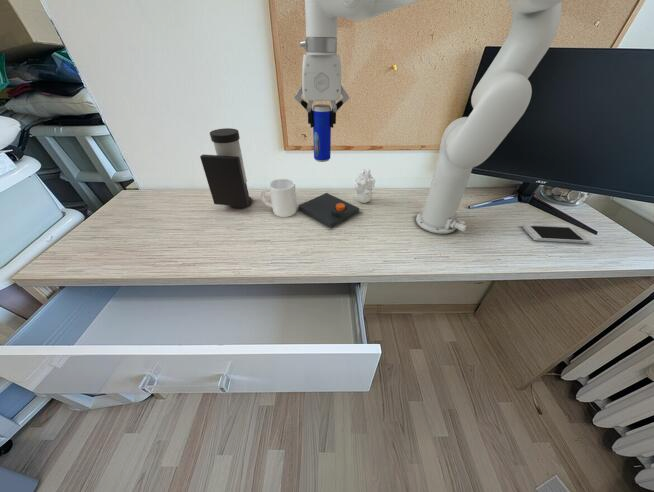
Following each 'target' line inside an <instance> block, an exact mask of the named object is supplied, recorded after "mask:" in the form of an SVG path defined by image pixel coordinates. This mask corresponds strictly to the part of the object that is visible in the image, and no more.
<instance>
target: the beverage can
mask: <svg viewBox="0 0 654 492" xmlns="http://www.w3.org/2000/svg"><path fill="white" fill-rule="evenodd" d="M312 111H313V127H312V131H313V132H312V133H313V134H312V135H313V139H312V141H313V159H314V160H315V161H316V162H318V163H325V162H329V161H330V159H331V149H332V148H331V147H332V146H331V143H332V142H331V141H332V139H331V137H332V127H331V111H332V106H331V104H330V105H329V104H323V103H321V104H319V103H318V104H314V105H313V106H312Z"/></svg>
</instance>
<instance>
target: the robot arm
mask: <svg viewBox="0 0 654 492" xmlns="http://www.w3.org/2000/svg"><path fill="white" fill-rule="evenodd" d="M420 1H421V0H304V13H305V14H304V15H305V16H304V17H305V19H304V20H305V39H304V40H302V41H301V40H300V44H299V45H300V49H303V50H305V52H306V54H303V56H302V69H301V71H302V72H301V81H302V83H301V84H302V85H301V86H300V88H299V89H298V91H297V92H296V94H295V95H294V100H295V101H296V102H297V103H298V104H300V105H301V106H302V107H303V108H304V109H305V111H306V112H307V124H309V126H310V129H311V128H312V129H313V103H314V102H330V106H331V129H334V125H336V124H337V112H338V110H340V108H341V107H342V106H343V105H344V104H346V102H348V100H350V96H349V94H348V93H347V91H346V90H345V89H344V87H343V86H342V64H341V55H340V54H338V53H337V52H338V20H339V19H338V18H343V19H348V20H351V21H352V22H364V21H367V20H369V19H372V18H376V17H379V16H380V15H384V14H386V13H387V14H388V13H389V12H392V11H394V10H397V9H400V8H402V7H405V6H409V5H412V4H415V3H418V2H420ZM563 2H564V0H508V4H509V7H510V11H511V16H512V17H511V26H510V29H509V32H508V35H507V36H506V38H505V41H504V42H503V44H502V46H501V48H500V49H499V51H498V53H497V54H496V55H495V57H494V58H493V60H492V62H491V64H490V65H489V67H487V70H486V71H485V72H484V74H483V76H482V77H481V78H480V80H479V82H478V83H477V85H476V86H475V88H474V89H473V91H472V94H471V98H470V99H471V101H470V103H471V107H472V111H471V112H470V113H469V115H468V116H463V117H459V118H456V119H454V120H453V121H452V122H451V123H449V124H448V125H447V127H446V128H445V130H444V132H443V134H442V136H441V139H440V145H439V150H438V155H437V159H436V164H435V167H434V171H433V175H432V178H431V181H430V184H429V185H430V186H429V189H428V193H427V197H426V200H425V203H424V207H423V210H422V211H420V212H419V213H417V215H416V218H415V222H416V223H417V225H418V226H419V228H421V229H423V230H424V231H427V232H430V233H433V234H439V235H440V234H441V235H445V234H451V233H453V232H455V231H456V229H457V230H458V231H461V232H465V231H466V230H467V227H468V226H467V225H466V223H467V222H466V221H464V220H461V219H459V218H458V217H459V213H457V212H458V209H459V207H460V204H461V201H462V198H463V195H464V194H465V191H466V187H467V185H468V182H469V180H470V177H471V174H472V171H473V169H474V168H477V167H478V166H480V165H482V164H483V163H484V162H485V161H486V160H487V159H488V158H490V156H491V155H492V154H493V153H494V152H495V151H496V150H497V148H498V147H499V146H500V144H501V143H502V142H503V141H504V140H505V138H506V137H507V136H508V134H509V133H510V132H511V131H512V129H513V128H514V127H515V126H516V124H517V123H518V122H519V120H520V119H521V118H522V117H523V116H524V114H525V112H526V110H527V109H528V107H529V104H530V102H531V98H532V95H533V94H532V93H533V90H532V84H531V82H530V80H529V78H530V77H531V75H532V74H533V72H534V71H535V70H536V68H537V67H538V65H539V63H540V62H541V61H542V59H543V58H544V56H545V55H546V54H547V52H548V50H549V49H550V47H551V46H552V44H553V42H554V40H555V37H556V35H557V33H558V30H559V26H560V22H561V16H562V6H563ZM341 96H342V97H341Z"/></svg>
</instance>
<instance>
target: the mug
mask: <svg viewBox="0 0 654 492" xmlns="http://www.w3.org/2000/svg"><path fill="white" fill-rule="evenodd" d="M267 192H270V200H271V202H270V201H268V200H267V198H266V193H267ZM260 199H261V202H263V204H264V205H266V206H267V207H270V208H272V212H273V214H274V215H275V216H277V217H280V218H288V217H293V216H294V215H295V214H296V213H297V210H298V204H297V203H298V202H297V192H296V183H295V181H294V180H292V179H289V178H278V179H274V180H272V181H271V182H270V183H269V186H265V187H264V188H263V189H262V190H261V192H260Z"/></svg>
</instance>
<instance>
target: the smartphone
mask: <svg viewBox="0 0 654 492" xmlns="http://www.w3.org/2000/svg"><path fill="white" fill-rule="evenodd" d="M522 229H523V230H524V231H525V232H526V233H527V234H528V235H529V237H530V238H531V239H533V241H540V242H541V241H542V242H556V243H557V242H558V243H559V242H560V243H561V242H562V243H576V244H577V243H578V244H588V243H589V241H590V239H588V238H587V237H586V236H585V235H583V234H582V233H581V232H580V231H579V230H578V229H577V228H576V227H570V226H548V225H528V224H527V225H526V224H524V225H523V226H522Z"/></svg>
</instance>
